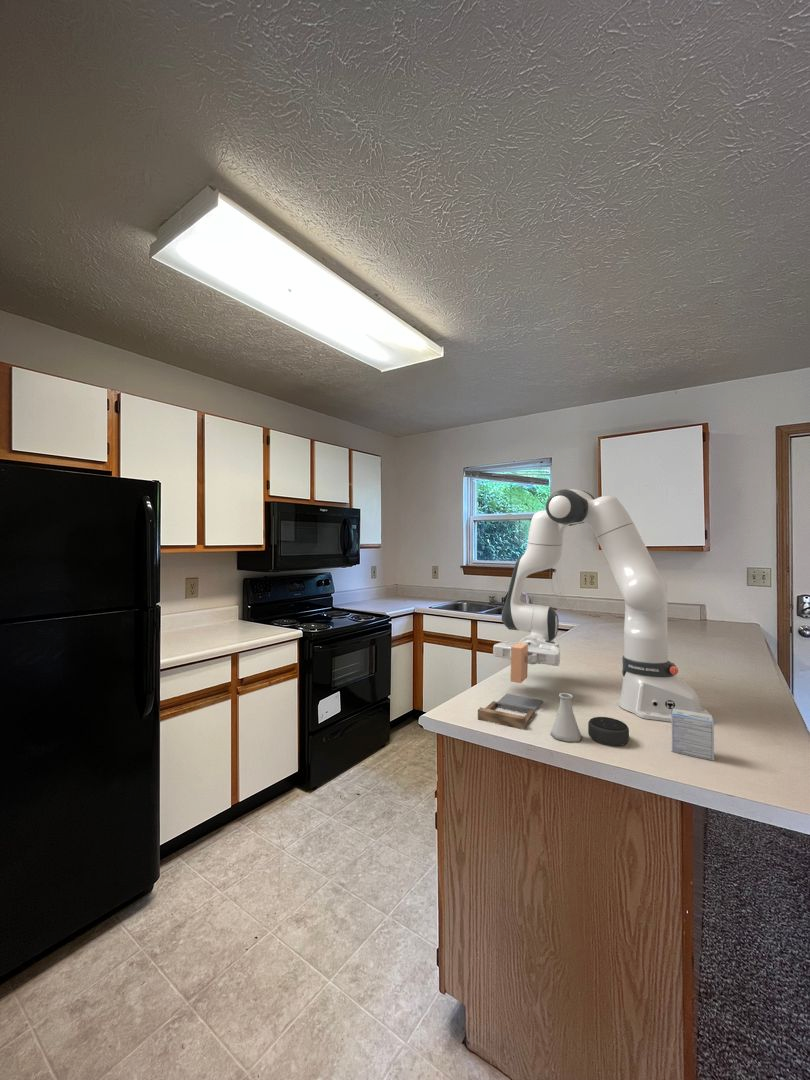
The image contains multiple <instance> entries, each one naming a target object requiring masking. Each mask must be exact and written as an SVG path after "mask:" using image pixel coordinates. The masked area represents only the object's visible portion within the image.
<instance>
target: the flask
mask: <svg viewBox="0 0 810 1080" xmlns="http://www.w3.org/2000/svg"><path fill="white" fill-rule="evenodd" d="M558 697H559V699H560V701H559V707H558V712H557V715H556V718H555V720H554V723H553V726H552V728H551V731H550V735H551V737H553V738H554V739H555V740H559V741H564V742H570V743H571V742H573V743H574V742H580V741H581V740H582V734H581V731H580V728H579V726H578V723H577V720H576V716H575V713H574V710H573V704H572V702H573V701H572V699H573V698H574V696H573V694H570V693H567V692H562V693H561V692H560V693H559V695H558Z"/></svg>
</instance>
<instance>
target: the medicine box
mask: <svg viewBox="0 0 810 1080" xmlns="http://www.w3.org/2000/svg"><path fill="white" fill-rule="evenodd" d="M714 725H715V722H714V717H713V715H712V714H710V715H708V714H702V713H697V712H691V711H685V710H679V709H672V714H671V752H672V753H675V754H676V753H677V754H680V755H687V756H690V757H695V758H701V759H704V760H710V761H715V744H714V743H715V737H714V736H715V730H714V729H715V726H714Z"/></svg>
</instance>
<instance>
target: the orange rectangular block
mask: <svg viewBox="0 0 810 1080" xmlns="http://www.w3.org/2000/svg"><path fill="white" fill-rule="evenodd" d="M526 655H528V644H524V643H519V642H517V643H515V645H514V646H512V647H511V660H510V682H512V683H516V684H517V683H518V684H522V683H523V682H524V681H525V680H526V679H527V678H528V671H529V669H528V668H529V667H528V666H529V664H528V663H526V662H525V656H526Z"/></svg>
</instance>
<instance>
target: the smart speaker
mask: <svg viewBox="0 0 810 1080" xmlns="http://www.w3.org/2000/svg"><path fill="white" fill-rule="evenodd" d="M587 731H588V732H587V733H588V736H589V737H590V738H591V739H592V740H593V741H595V742H597V743H600V744H602V745H606V746H612V747H613V746H615V747H619V746H620V745H621V746H624V745H626V744H627V743H629V740H630V729H629V727H628V725H627V724H626V723H625V722H623V721H621V720H620V719H616V718H613V717H608V716H596V717H595V716H594V717H591V718H590V719H589V721H588V723H587Z"/></svg>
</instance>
